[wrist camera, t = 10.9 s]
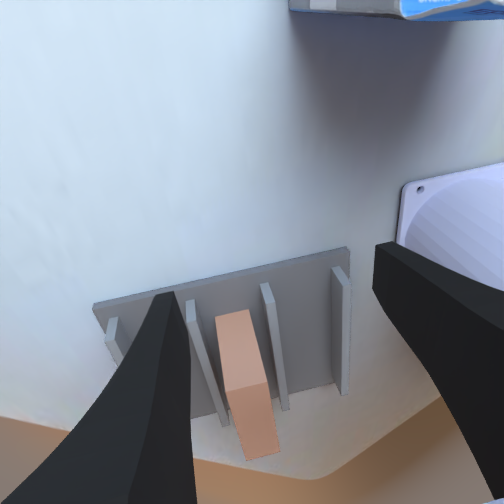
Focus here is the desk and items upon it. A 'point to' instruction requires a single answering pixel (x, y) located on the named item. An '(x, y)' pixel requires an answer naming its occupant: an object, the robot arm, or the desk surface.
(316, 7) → the label tape box
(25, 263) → the desk surface
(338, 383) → the rack
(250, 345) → the tile
